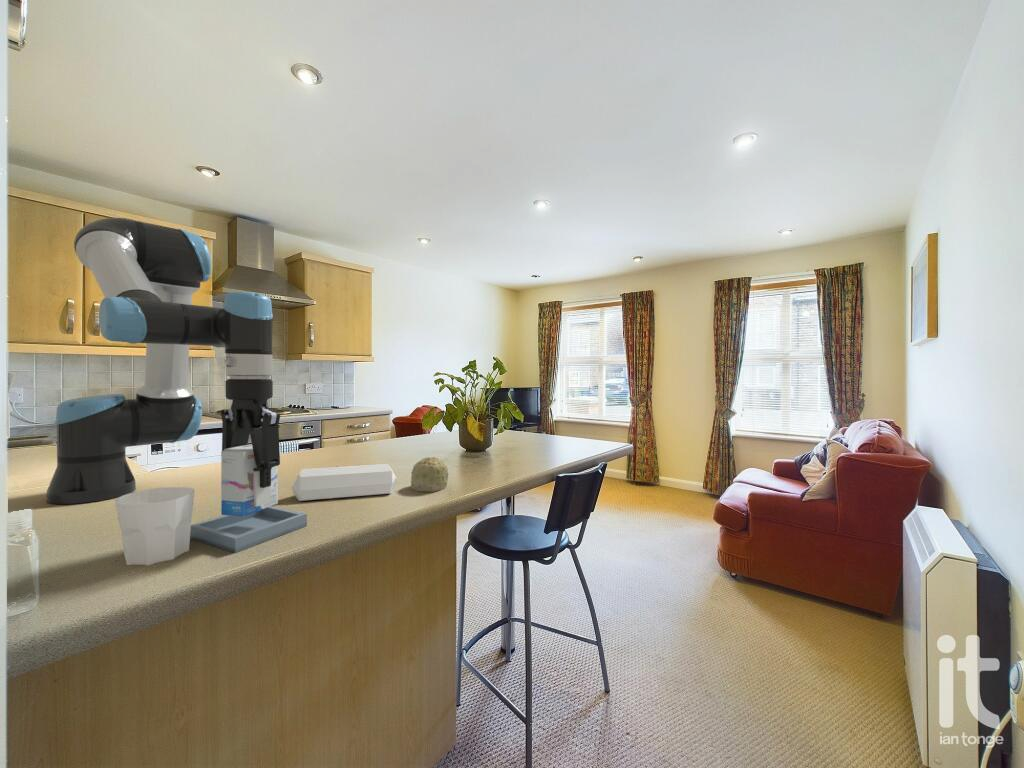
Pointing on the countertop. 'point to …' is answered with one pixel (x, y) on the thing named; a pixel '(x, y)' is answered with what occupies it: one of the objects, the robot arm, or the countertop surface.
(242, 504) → the ink box
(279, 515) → the tray
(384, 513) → the countertop surface
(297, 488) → the crystal
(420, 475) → the decorative object
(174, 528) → the cup
